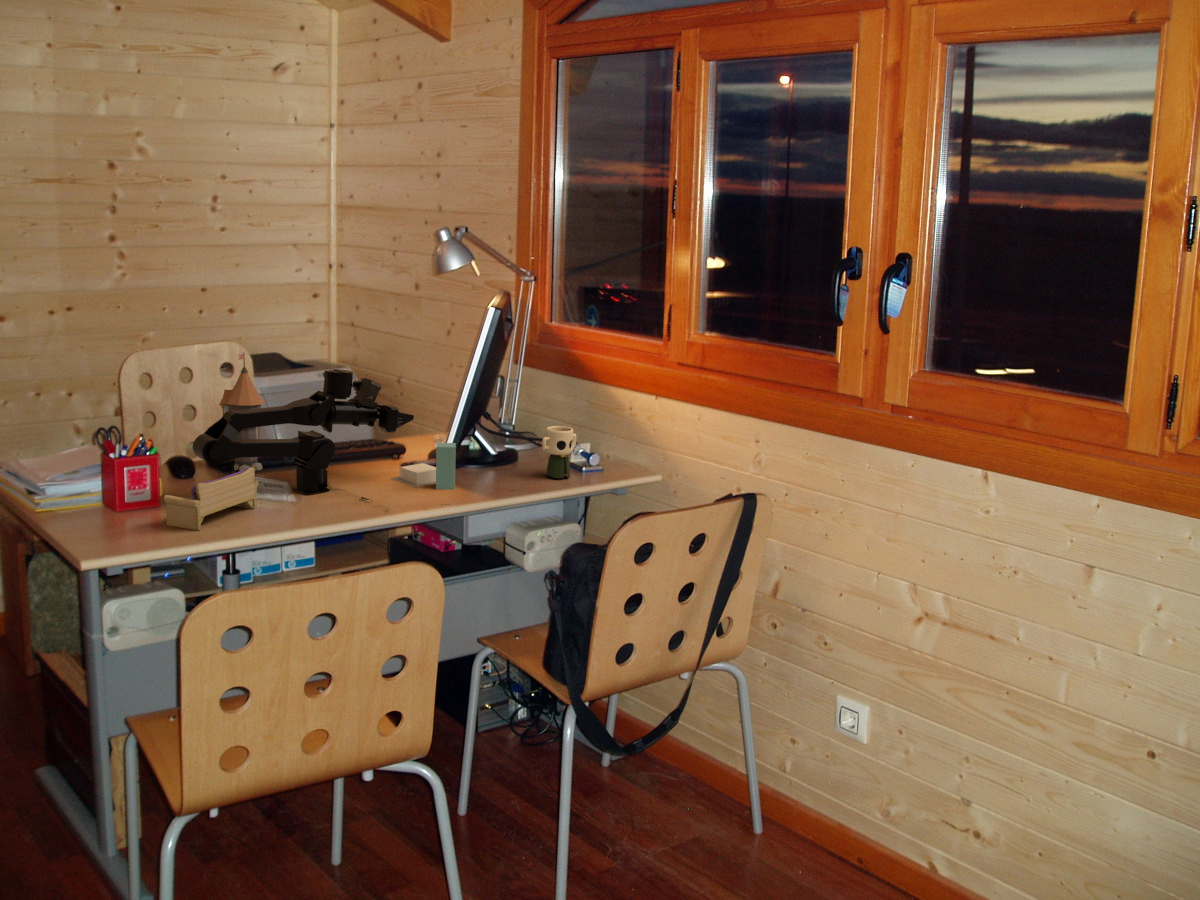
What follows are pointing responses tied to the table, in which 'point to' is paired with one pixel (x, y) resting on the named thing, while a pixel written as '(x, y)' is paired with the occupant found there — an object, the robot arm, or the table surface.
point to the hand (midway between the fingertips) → (404, 414)
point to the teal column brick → (445, 465)
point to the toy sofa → (212, 499)
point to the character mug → (558, 449)
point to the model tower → (243, 399)
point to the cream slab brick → (418, 473)
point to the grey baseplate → (413, 483)
